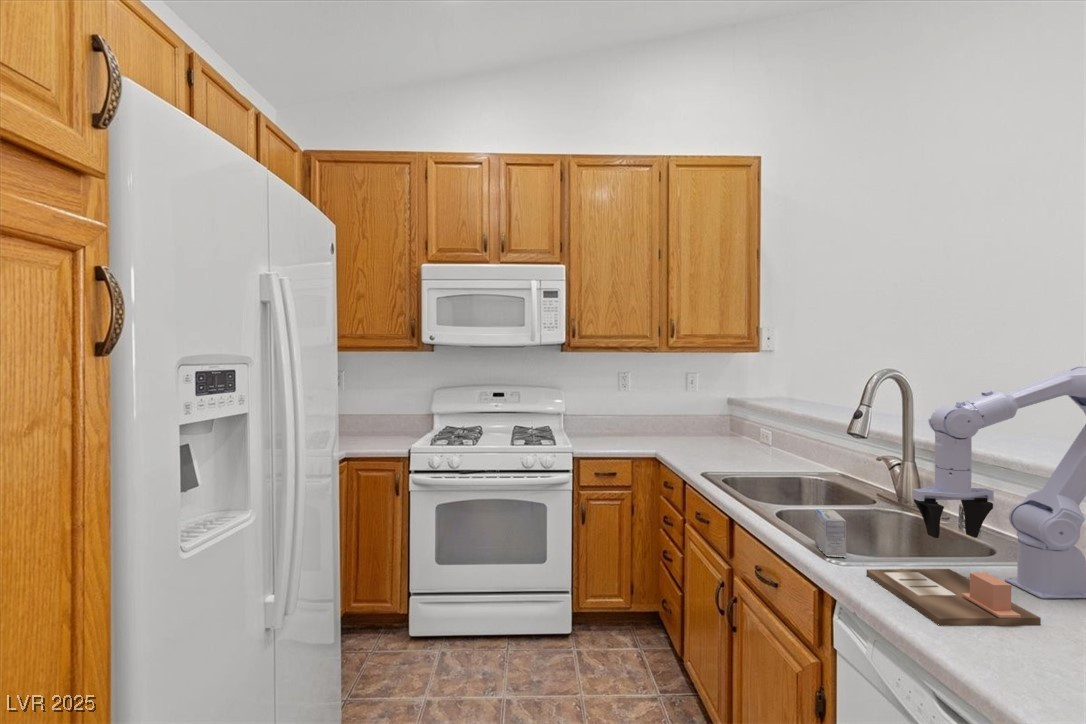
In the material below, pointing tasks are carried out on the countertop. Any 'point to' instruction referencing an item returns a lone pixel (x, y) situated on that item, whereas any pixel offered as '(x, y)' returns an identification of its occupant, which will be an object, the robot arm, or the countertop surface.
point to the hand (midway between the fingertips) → (952, 536)
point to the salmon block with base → (991, 594)
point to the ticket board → (943, 597)
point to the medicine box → (830, 532)
